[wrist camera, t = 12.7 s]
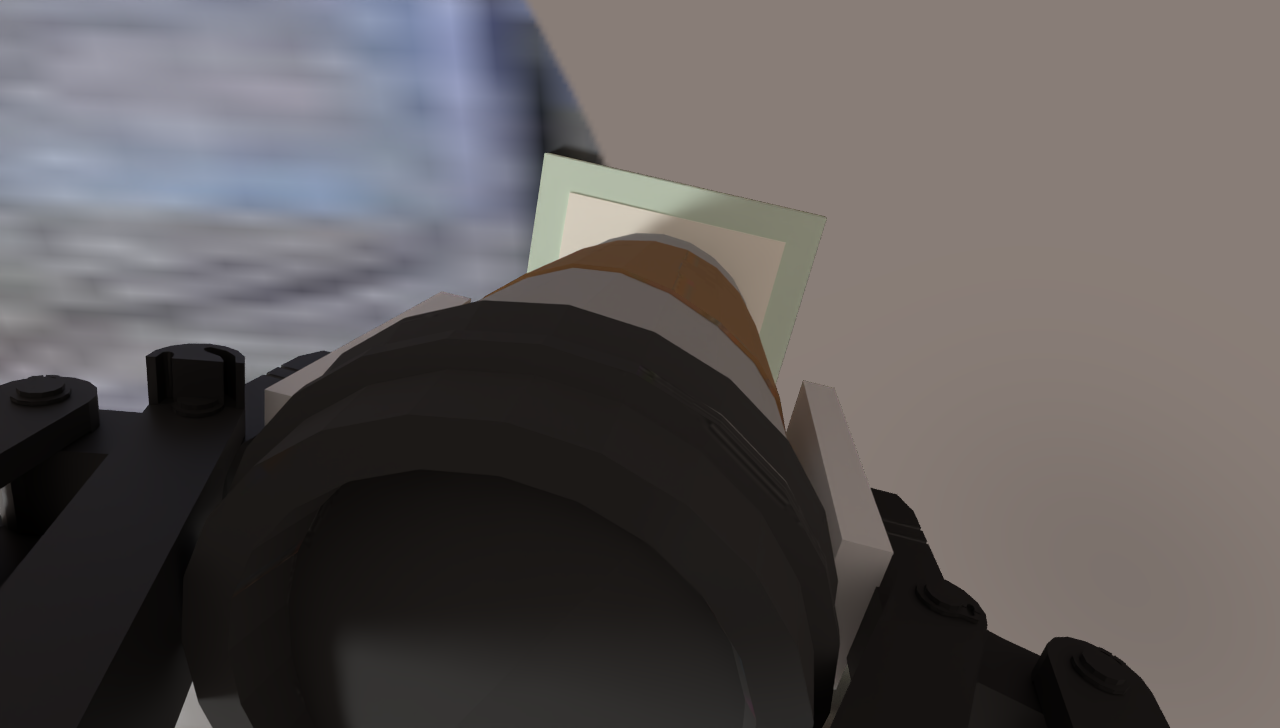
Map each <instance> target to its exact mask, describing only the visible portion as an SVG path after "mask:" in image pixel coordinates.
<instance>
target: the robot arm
mask: <svg viewBox="0 0 1280 728" xmlns="http://www.w3.org/2000/svg"><path fill="white" fill-rule="evenodd" d="M470 302H471V299H470V298H466V297H462V296H458V295H454V294H450V293H446V292H440V293H438V294H436V295H434V296H433V297H431V298H429V299H427V300H425V301H424V302H422V303H420V304H418V305H416V306H415V307H413V308H411V309H409V310H407V311H406V312H404V313H402V314H400V315H398V316H396V317H395V318H393V319H391V320H389V321H387V322H386V323H384V324H382V325H380V326H378V327H377V328H375V329H373V330H371V331H369V332H368V333H366V334H364V335H362V336H360V337H359V338H357V339H355V340H353V341H351V342H349V343H348V344H346V345H344V346H342V347H340V348H339V349H337V350H335V351H333V352H327V351H320V352H315V353H311V354H306V355H302V356H298V357H297V358H295V359H293V360H291V361H289V362H287V363H285V364H283V365H281V368H279V367H277V368H275V369H273V370H272V371H270V372H268V373H267V375H262V376H260V377H258V378H256V379H254V380H252V381H250V382H249V383H247V384H245V357H244V356H243V355H242V354H241V353H240V352H239V351H237V350H234V349H231V348H229V347H226V346H220V345H213V344H182V345H174V346H169V347H165V348H162V349H158V350H155V351H154V352H152V353H150V354H149V355H147V356H146V366H147V381H148V396H149V405H148V406H147V408H146V409H145V410H144V411H143V413H137V412H124V411H112V410H99V406H98V396H97V387H95V386H94V385H93V384H91V383H90V382H88V381H85V380H81V379H77V378H71V377H60V376H58V375H46V377H43V375H41V376H32V377H29V378H27V379H22V380H17V381H12V382H9V383H6V384H3V385H0V513H1V515H0V728H175V726H176V723H177V721H178V718H179V715H180V713H181V710H182V708H183V705H184V702H185V700H186V697H187V695H188V692H189V689H190V687H191V684H192V678H191V674H190V670H189V667H188V663H187V659H186V656H185V652H184V648H183V645H182V602H183V577H184V574H185V572H186V569H187V567H188V564H189V561H190V559H191V556H192V554H193V551H194V549H195V546H196V544H197V541H198V539H199V536H200V533H201V531H202V528H203V526H204V523H205V521H206V518H207V517H208V516H209V515H210V513H211V512H212V511H213V510H214V509H215V508H216V507H217V506H218V505H219V504H220V503H221V501H222V500H223V499H224V498H225V497H226V496H227V494H228V492H229V489H230V487H231V484H232V482H233V479H234V477H235V474H236V472H237V469H238V467H239V464H240V462H241V459H242V457H243V454H244V452H245V449H246V447H247V446H248V445H249V444H250V443H251V442H252V440H253V439H254V438H255V437H256V436H257V435H258V434H259V433H260V431H261V430H262V429H263V428H264V427H265V426H266V425H267V424H268V422H269V421H270V420H271V419H272V418H273V417H274V416H275V415H276V413H277V412H278V411H279V410H280V409H281V408H282V407H283V406H284V404H285V403H286V402H287V401H288V400H289V399H290V398H291V397H292V396H293V394H295V393H296V392H297V391H298V390H300V389H301V388H302V387H303V386H305V385H306V384H308V383H310V382H311V381H313V380H315V379H317V378H319V377H320V376H322V375H323V374H324V373H325V372H326V371H327V369H328V368H329V367H330V366H331V365H332V364H333V363H334V362H335V361H336V359H337V358H338V357H339V356H340V355H341V354H342V353H344V352H345V351H347V350H349V349H351V348H352V347H354V346H356V345H358V344H359V343H361V342H363V341H365V340H366V339H368V338H370V337H372V336H374V335H375V334H377V333H379V332H381V331H382V330H384V329H386V328H388V327H389V326H391V325H393V324H395V323H396V322H398V321H400V320H402V319H403V318H405V317H410V316H414V315H419V314H423V313H428V312H432V311H437V310H441V309H446V308H450V307H455V306H459V305H464V304H468V303H470ZM786 437H787V439H788V440H789V442H790V444H791V446H792V448H793V450H794V452H795V454H796V456H797V457H798V459H799V461H800V463H801V465H802V467H803V469H804V471H805V473H806V475H807V477H808V478H809V480H810V482H811V484H812V486H813V488H814V490H815V492H816V494H817V496H818V497H819V499H820V501H821V503H822V505H823V507H824V509H825V512H826V517H827V523H828V528H829V534H830V539H831V544H832V550H833V555H834V561H835V566H836V572H837V577H838V586H837V593H836V600H835V609H836V614H837V620H838V625H839V634H840V648H839V655H838V661H837V668H836V675H835V682H834V688H833V689H835V690H836V688H837V686H838V684H839V681H840V679H841V677H842V674H843V672H844V669H845V667H846V665H847V663H848V668H849V673H850V678H851V682H850V685H849V687H848V689H847V691H846V693H845V696H844V698H843V700H842V702H841V704H840V707H839V709H838V711H837V713H836V716H835V718H834V720H833V722H832V724H831V727H830V728H1170V727H1169V725H1168V723H1167V721H1166V719H1165V717H1164V715H1163V713H1162V711H1161V710H1160V707H1159V705H1158V703H1157V701H1156V699H1155V698H1154V695H1153V694H1152V692H1151V691H1150V689H1149V688H1148V687H1147V685H1146V684H1145V682H1144V681H1143V680H1142V679H1141V677H1139V676H1138V675H1137V674H1136V673H1135V672H1134V671H1133V670H1131V669H1130V668H1129V667H1128V666H1127V665H1126V663H1124V662H1123V661H1122V660H1121V659H1119V658H1118V657H1116V656H1113V655H1112V653H1110V652H1108V651H1106V650H1104V649H1103V648H1100V647H1096V646H1094V645H1092V644H1090V643H1088V642H1085V641H1082V640H1078V639H1074V638H1070V637H1055V638H1053V639H1052V640H1051V641H1050V642H1048V644H1047V645H1046V647H1045V649H1044V650H1043V652H1042V654H1041V656H1039V655H1037V654H1035V653H1033V652H1031V651H1029V650H1026V649H1025V648H1022V647H1020V646H1018V645H1016V644H1013V643H1011V642H1009V641H1007V640H1005V639H1003V638H1001V637H999V636H997V635H996V634H994V633H992V632H990V631H988V630H987V619H986V614H985V613H984V611H983V610H982V609H981V607H980V606H979V604H978V603H977V602H976V601H975V600H974V599H973V598H972V597H971V596H970V595H968V594H967V593H966V592H965V591H964V590H962V589H961V588H959V587H957V586H956V585H954V584H952V583H950V582H949V581H947V580H944V578H943V576H942V573H941V571H940V569H939V567H938V565H937V562H936V560H935V558H934V556H933V554H932V551H931V549H930V547H929V545H928V544H926V542H927V540H926V538H925V536H924V533H923V531H921V530H920V529H921V527H920V525H919V522H918V520H917V518H916V516H915V514H914V511H913V510H912V509H911V508H909V506H908V505H907V504H906V503H905V502H904V501H903V500H902V499H901V498H900V497H899V496H898V495H897V494H893V493H889V492H885V491H881V490H877V489H873V488H870V486H869V483H868V480H867V477H866V475H865V472H864V469H863V466H862V464H861V461H860V458H859V455H858V452H857V450H856V447H855V444H854V441H853V438H852V436H851V433H850V430H849V427H848V425H847V422H846V419H845V416H844V414H843V411H842V408H841V405H840V402H839V400H838V397H837V394H836V391H835V389H834V388H832V387H828V386H824V385H820V384H816V383H812V382H808V381H804V380H803V382H802V386H801V389H800V392H799V395H798V398H797V401H796V404H795V407H794V411H793V414H792V416H791V420H790V423H789V426H788V429H787V432H786Z"/></svg>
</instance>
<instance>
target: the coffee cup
mask: <svg viewBox="0 0 1280 728" xmlns="http://www.w3.org/2000/svg"><path fill="white" fill-rule="evenodd" d="M837 586H838V577H837V572H836V566H835V561H834V555H833V550H832V544H831V539H830V534H829V528H828V523H827V517H826V512H825V509H824V507H823V505H822V503H821V501H820V499H819V497H818V496H817V494H816V492H815V490H814V488H813V486H812V484H811V482H810V480H809V478H808V477H807V475H806V473H805V471H804V469H803V467H802V465H801V463H800V461H799V459H798V457H797V456H796V454H795V452H794V450H793V448H792V446H791V444H790V442H789V440H788V439H787V437H786V431H785V426H784V420H783V413H782V408H781V402H780V397H779V394H778V391H777V388H776V385H775V382H774V379H773V376H772V373H771V370H770V367H769V364H768V361H767V358H766V355H765V352H764V349H763V346H762V343H761V340H760V336H759V333H758V330H757V327H756V325H755V323H754V321H753V319H752V317H751V315H750V313H749V311H748V309H747V306H746V302H745V300H744V298H743V296H742V295H741V293H740V291H739V289H738V287H737V285H736V283H735V281H734V279H733V278H732V277H731V276H730V274H729V273H728V272H727V271H726V270H725V269H724V268H723V267H722V266H721V265H720V264H719V263H718V262H717V261H716V259H715V258H713V257H712V256H710V255H709V254H707V253H706V252H704V251H703V250H701V249H700V248H698V247H696V246H695V245H693V244H692V243H690V242H687V241H684V240H681V239H678V238H674V237H671V236H668V235H665V234H648V233H634V234H630V235H625V236H621V237H617V238H612V239H609V240H607V241H604V242H602V243H600V244H598V245H595V246H591V247H587V248H583V249H581V250H578V251H576V252H574V253H572V254H569V255H567V256H565V257H562V258H560V259H558V260H556V261H553V262H551V263H549V264H547V265H544V266H542V267H540V268H538V269H535V270H533V271H531V272H529V273H526V274H524V275H523V276H521V277H519V278H517V279H515V280H514V281H512V282H510V283H508V284H506V285H505V286H503V287H501V288H499V289H497V290H496V291H494V292H492V293H490V294H488V295H487V296H485V297H484V298H483V299H481V300H479V301H477V302H472V303H468V304H464V305H459V306H455V307H450V308H446V309H441V310H437V311H432V312H428V313H423V314H419V315H414V316H410V317H405V318H403V319H402V320H400V321H398V322H396V323H395V324H393V325H391V326H389V327H388V328H386V329H384V330H382V331H381V332H379V333H377V334H375V335H374V336H372V337H370V338H368V339H366V340H365V341H363V342H361V343H359V344H358V345H356V346H354V347H352V348H351V349H349V350H347V351H345V352H344V353H342V354H341V355H340V356H339V357H338V358H337V359H336V361H335V362H334V363H333V364H332V365H331V366H330V367H329V368H328V369H327V371H326V372H325V373H324V374H323V375H322V376H320V377H319V378H317V379H315V380H313V381H311V382H310V383H308V384H306V385H305V386H303V387H302V388H301V389H300V390H298V391H297V392H296V393H295V394H293V396H292V397H291V398H290V399H289V400H288V401H287V402H286V403H285V404H284V406H283V407H282V408H281V409H280V410H279V411H278V412H277V413H276V415H275V416H274V417H273V418H272V419H271V420H270V421H269V422H268V424H267V425H266V426H265V427H264V428H263V429H262V430H261V431H260V433H259V434H258V435H257V436H256V437H255V438H254V439H253V440H252V442H251V443H250V444H249V445H248V446H247V447H246V449H245V452H244V454H243V457H242V459H241V462H240V464H239V467H238V469H237V472H236V474H235V477H234V479H233V482H232V484H231V487H230V489H229V492H228V494H227V496H226V497H225V498H224V499H223V500H222V501H221V503H220V504H219V505H218V506H217V507H216V508H215V509H214V510H213V511H212V512H211V513H210V515H209V516H208V517H207V518H206V521H205V523H204V526H203V528H202V531H201V533H200V536H199V539H198V541H197V544H196V546H195V549H194V551H193V554H192V556H191V559H190V561H189V564H188V567H187V569H186V572H185V574H184V577H183V602H182V645H183V648H184V652H185V656H186V659H187V663H188V667H189V670H190V674H191V678H192V681H193V685H194V689H195V692H196V696H197V700H198V703H199V705H200V707H201V708H202V710H203V712H204V714H205V716H206V717H207V719H208V721H209V723H210V724H211V726H212V728H822V727H823V725H824V723H825V721H826V719H827V717H828V715H829V714H830V709H831V702H832V695H833V688H834V682H835V675H836V668H837V661H838V655H839V648H840V634H839V625H838V620H837V614H836V609H835V600H836V593H837Z"/></svg>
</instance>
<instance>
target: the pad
mask: <svg viewBox="0 0 1280 728" xmlns="http://www.w3.org/2000/svg"><path fill="white" fill-rule="evenodd" d="M826 219H827V218H826V217H825V216H821V215H817V214H812V213H808V212H804V211H799V210H795V209H790V208H786V207H782V206H777V205H773V204H769V203H765V202H760V201H756V200H752V199H747V198H743V197H739V196H734V195H730V194H725V193H721V192H717V191H712V190H708V189H704V188H699V187H695V186H691V185H686V184H682V183H678V182H673V181H669V180H665V179H660V178H656V177H652V176H647V175H643V174H639V173H634V172H629V171H625V170H621V169H617V168H613V167H608V166H604V165H599V164H595V163H591V162H586V161H582V160H578V159H573V158H569V157H565V156H560V155H556V154H552V153H545V155H544V162H543V169H542V176H541V182H540V189H539V196H538V203H537V209H536V216H535V223H534V229H533V236H532V243H531V250H530V256H529V263H528V270H527V273H529V272H531V271H533V270H535V269H538V268H540V267H542V266H544V265H547V264H549V263H551V262H553V261H556V260H558V259H560V258H562V257H565V256H567V255H569V254H572V253H574V252H576V251H578V250H581V249H583V248H587V247H591V246H595V245H598V244H600V243H602V242H604V241H607V240H609V239H612V238H617V237H621V236H625V235H630V234H634V233H648V234H665V235H668V236H671V237H674V238H678V239H681V240H684V241H687V242H690V243H692V244H693V245H695V246H696V247H698V248H700V249H701V250H703V251H704V252H706V253H707V254H709V255H710V256H712V257H713V258H715V259H716V261H717V262H718V263H719V264H720V265H721V266H722V267H723V268H724V269H725V270H726V271H727V272H728V273H729V274H730V276H731V277H732V278H733V279H734V281H735V283H736V285H737V287H738V289H739V291H740V293H741V295H742V296H743V298H744V300H745V302H746V306H747V309H748V311H749V313H750V315H751V317H752V319H753V321H754V323H755V325H756V327H757V330H758V333H759V336H760V340H761V343H762V346H763V349H764V352H765V355H766V358H767V361H768V364H769V367H770V370H771V373H772V376H773V379H774V382H775V385H776V382H777V379H778V375H779V372H780V368H781V366H782V362H783V359H784V355H785V353H786V349H787V346H788V343H789V339H790V336H791V333H792V330H793V326H794V323H795V320H796V317H797V313H798V310H799V307H800V304H801V300H802V297H803V294H804V291H805V287H806V284H807V281H808V278H809V274H810V271H811V268H812V265H813V261H814V258H815V255H816V252H817V248H818V245H819V242H820V239H821V235H822V232H823V229H824V225H825V222H826Z"/></svg>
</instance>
